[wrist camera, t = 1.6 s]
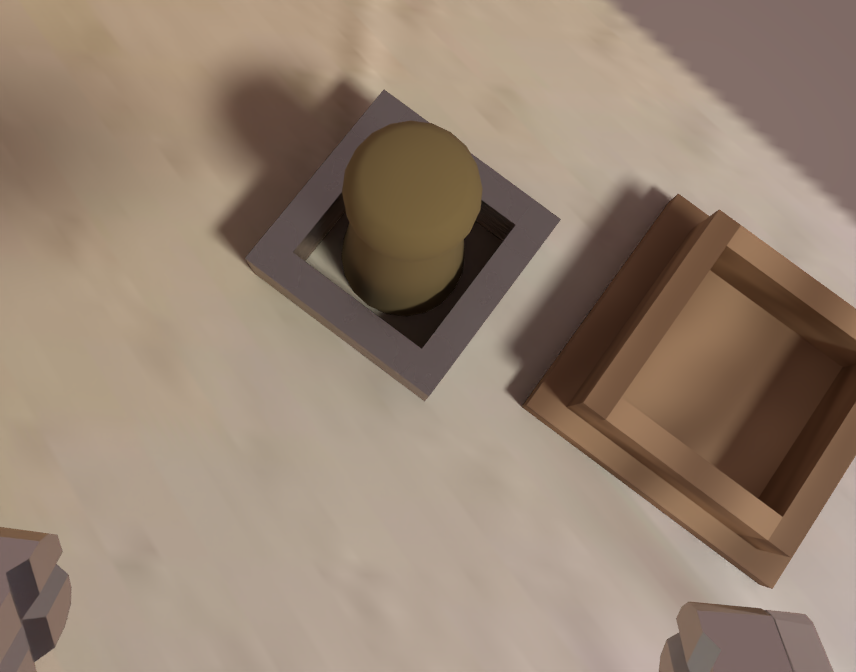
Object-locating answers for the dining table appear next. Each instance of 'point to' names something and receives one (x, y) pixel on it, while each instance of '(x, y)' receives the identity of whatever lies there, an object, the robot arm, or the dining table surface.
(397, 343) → the socket block
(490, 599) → the dining table surface
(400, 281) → the cork
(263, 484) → the dining table surface
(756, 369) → the walnut rack
